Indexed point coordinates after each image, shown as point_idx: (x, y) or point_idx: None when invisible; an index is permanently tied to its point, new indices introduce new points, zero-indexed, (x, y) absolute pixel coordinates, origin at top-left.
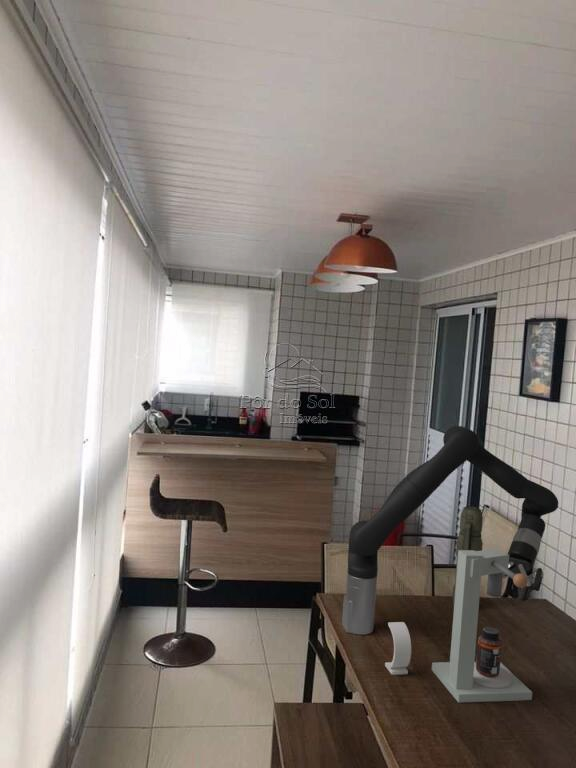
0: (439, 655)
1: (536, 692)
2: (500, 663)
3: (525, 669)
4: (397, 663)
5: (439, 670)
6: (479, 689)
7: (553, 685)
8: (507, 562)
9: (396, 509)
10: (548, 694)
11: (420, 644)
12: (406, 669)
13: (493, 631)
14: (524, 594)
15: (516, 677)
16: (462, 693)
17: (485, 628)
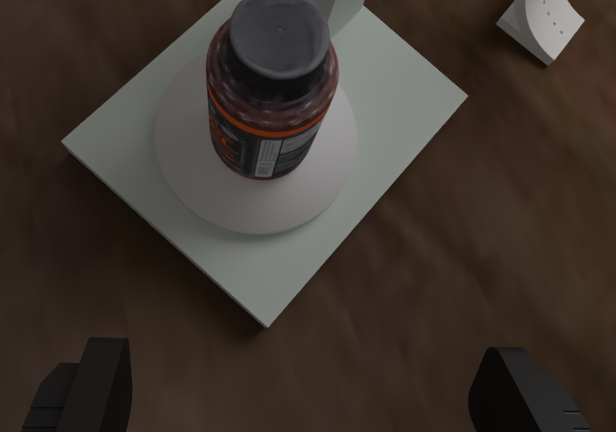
0: (495, 246)
1: (67, 231)
2: (255, 307)
3: (161, 422)
4: None
5: (418, 55)
6: None
7: (10, 359)
8: None
9: None
10: (17, 253)
11: (597, 282)
12: (510, 24)
13: (259, 22)
14: (79, 375)
15: (153, 223)
16: None
17: (316, 33)
